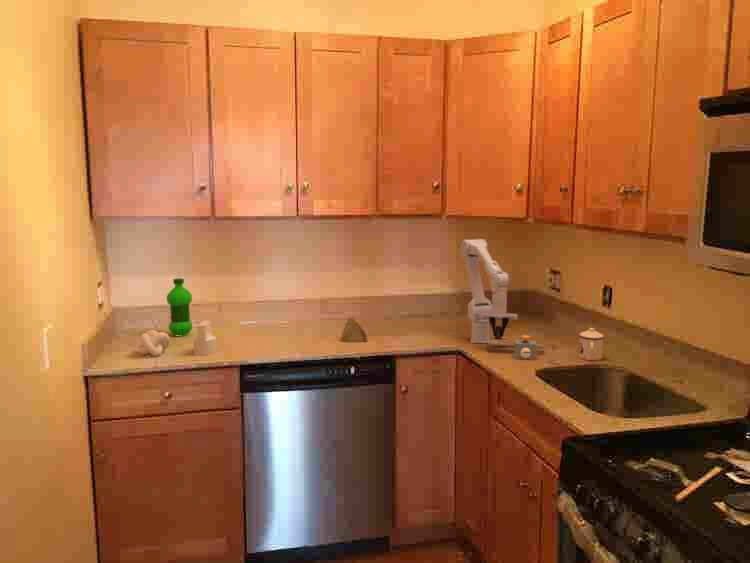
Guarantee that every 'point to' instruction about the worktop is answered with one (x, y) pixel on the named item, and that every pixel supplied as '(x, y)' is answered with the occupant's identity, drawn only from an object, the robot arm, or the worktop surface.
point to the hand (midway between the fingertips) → (498, 336)
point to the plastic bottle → (179, 308)
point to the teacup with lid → (591, 345)
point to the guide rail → (513, 345)
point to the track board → (510, 349)
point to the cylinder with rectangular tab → (205, 340)
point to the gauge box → (525, 349)
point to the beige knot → (153, 343)
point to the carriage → (498, 338)
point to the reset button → (525, 338)
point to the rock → (353, 332)
